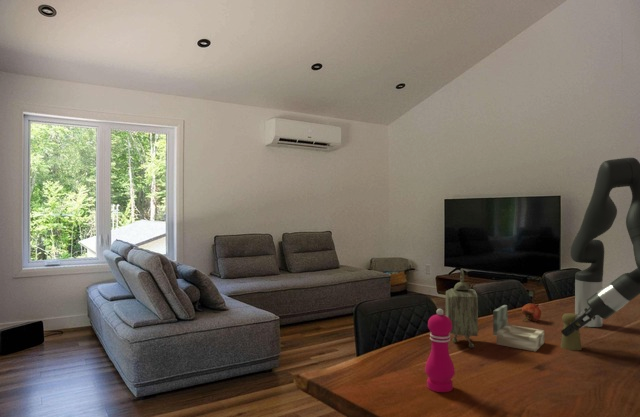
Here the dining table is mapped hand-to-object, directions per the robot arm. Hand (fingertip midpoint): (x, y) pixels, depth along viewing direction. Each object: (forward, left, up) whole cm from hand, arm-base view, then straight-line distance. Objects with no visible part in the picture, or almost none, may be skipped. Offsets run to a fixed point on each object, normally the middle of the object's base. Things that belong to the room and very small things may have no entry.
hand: (565, 331), depth 148 cm
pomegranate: (-29, -17, -5) cm, 34 cm away
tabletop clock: (+18, -28, -5) cm, 34 cm away
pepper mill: (+58, -18, -5) cm, 61 cm away
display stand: (+6, -12, -5) cm, 15 cm away
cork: (0, +2, -5) cm, 5 cm away
